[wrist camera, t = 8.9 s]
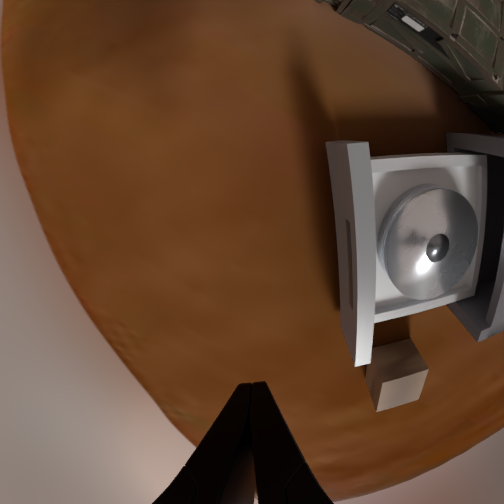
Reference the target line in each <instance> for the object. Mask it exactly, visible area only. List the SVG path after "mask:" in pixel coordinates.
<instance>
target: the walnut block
mask: <svg viewBox="0 0 504 504" xmlns="http://www.w3.org/2000/svg"><path fill="white" fill-rule="evenodd" d="M428 370H429V369H428V367H427V365H426V364H425V362H424V360H423V358H422V357H421V355H420V353H419V352H418V350H417V348H416V347H415V345H414V343H413V342H412V340H411V338H409V339H405V340H402V341H398V342H394V343H390V344H386V345H382V346H378V347H374V348H372V352H371V362H370V364H367V368H366V377H365V380H366V383H367V386H368V389H369V392H370V395H371V398H372V401H373V404H374V407H375V410H376V412H378V411H382V410H386V409H389V408H393V407H396V406H399V405H403V404H406V403H409V402H412V401H415V400H418V399H419V396H420V393H421V391H422V388H423V385H424V382H425V379H426V376H427V373H428Z"/></svg>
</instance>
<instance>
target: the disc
mask: <svg viewBox="0 0 504 504" xmlns="http://www.w3.org/2000/svg"><path fill="white" fill-rule="evenodd" d="M477 241H478V224H477V218H476V215H475V212H474V210H473V208H472V206H471V204H470V203H469V201H468V200H467V199H466V198H465V197H464V196H463V195H461V194H460V193H458V192H456V191H453V190H451V189H448V188H446V187H443V186H440V185H438V184H432V183H426V184H420V185H417V186H414V187H412V188H410V189H408V190H407V191H405V192H404V193H402V194H401V195H400V196H399V197H398V198H397V199H396V200H395V201H394V202H393V204H392V205H391V206H390V208H389V209H388V211H387V213H386V214H385V216H384V218H383V221H382V223H381V226H380V230H379V234H378V241H377V252H378V258H379V262H380V265H381V267H382V269H383V271H384V273H385V274H386V276H387V277H388V278H389V279H390V281H391V282H392V283H393V284H394V286H395V287H396V288H397V289H398V290H399V291H400V292H401V293H402V294H403V295H405V296H407V297H409V298H412V299H417V300H426V299H431V298H435V297H437V296H439V295H442V294H443V293H445V292H447V291H448V290H449V289H451V288H452V287H453V286H454V285H455V284H456V283H457V282H458V281H459V280H460V279H461V278H462V277H463V275H464V274H465V273H466V271H467V269H468V268H469V266H470V264H471V262H472V259H473V257H474V254H475V251H476V247H477Z"/></svg>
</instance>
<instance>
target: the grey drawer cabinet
mask: <svg viewBox="0 0 504 504" xmlns="http://www.w3.org/2000/svg"><path fill="white" fill-rule="evenodd" d="M446 142H447V153H453V152H475V153H480V154H485V155H487V207H486V222H485V233H484V242H483V250H482V257H481V264H480V270H479V275H478V281H477V286H476V291H475V295H474V296H471V297H468V298H465V299H462V300H459V301H455V302H452V303H449V304H446V305H447V307H448V308H449V309H450V310H451V311H452V312H453V313H454V315H455V316H456V317H457V318H458V319H459V320H460V322H461V323H462V324H463V325H464V326H465V328H466V329H467V330H468V331H469V332H470V334H471V335H472V336H473V337H474V339H475V340H476V341H477V342H480V341H482V340H484V339H486V338H489V337H491V336H493V335H495V334H497V333H499V332H502V331H504V136H502V135H491V134H477V133H454V132H446Z"/></svg>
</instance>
